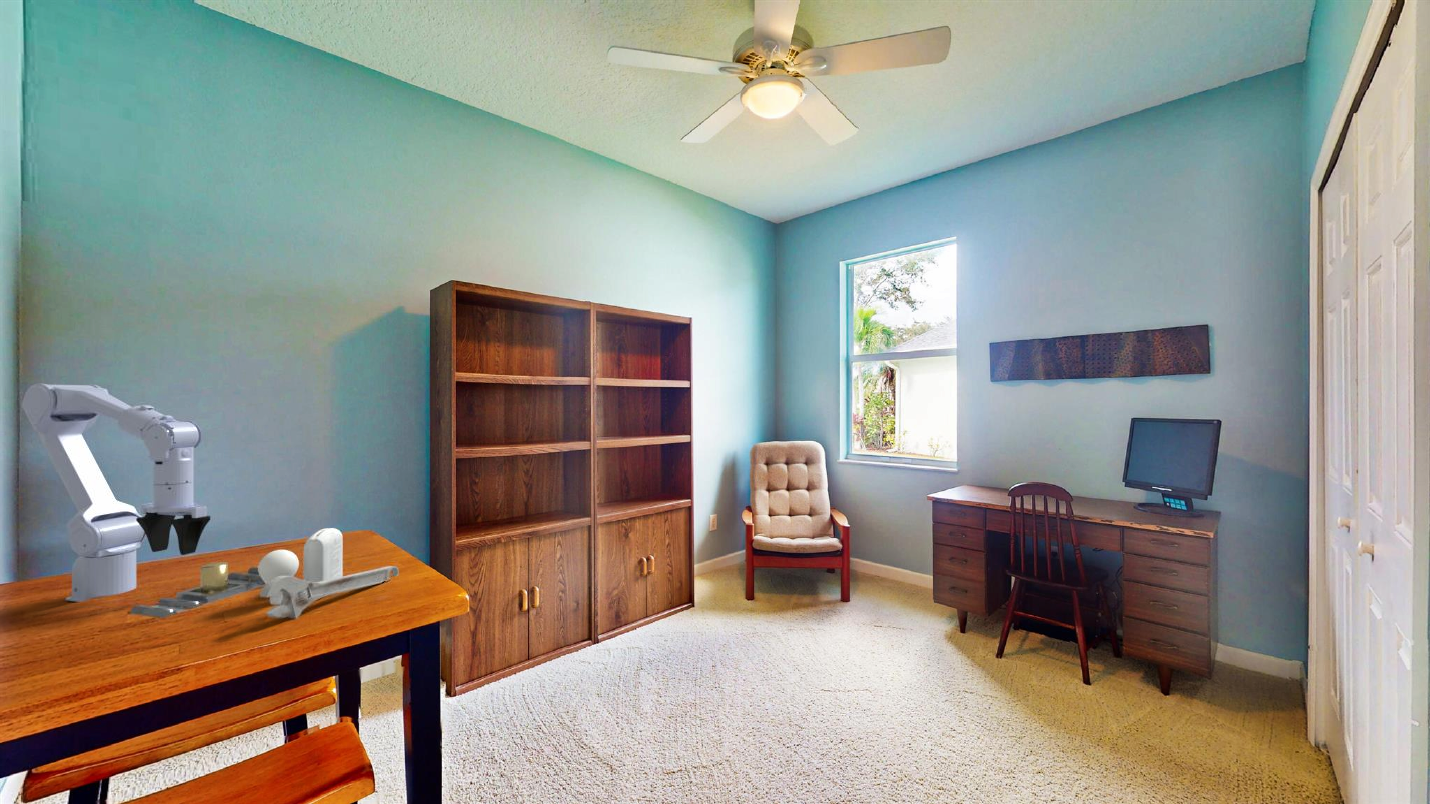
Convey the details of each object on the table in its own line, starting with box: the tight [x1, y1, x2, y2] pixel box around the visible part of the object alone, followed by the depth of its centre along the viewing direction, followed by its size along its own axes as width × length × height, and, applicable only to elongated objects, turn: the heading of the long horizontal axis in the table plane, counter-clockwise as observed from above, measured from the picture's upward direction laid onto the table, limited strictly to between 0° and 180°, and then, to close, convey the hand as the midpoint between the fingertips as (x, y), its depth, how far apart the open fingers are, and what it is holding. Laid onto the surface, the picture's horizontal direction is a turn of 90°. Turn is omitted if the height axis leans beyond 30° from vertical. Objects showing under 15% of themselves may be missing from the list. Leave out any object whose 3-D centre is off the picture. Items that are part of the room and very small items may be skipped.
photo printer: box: [302, 527, 344, 583], centre depth 118 cm, size 10×4×12 cm, turn 13°
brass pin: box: [200, 561, 229, 594], centre depth 111 cm, size 4×4×7 cm
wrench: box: [259, 565, 400, 619], centre depth 111 cm, size 8×2×30 cm
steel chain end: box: [130, 591, 247, 619], centre depth 107 cm, size 8×15×2 cm, turn 166°
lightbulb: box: [257, 549, 300, 606], centre depth 107 cm, size 6×6×11 cm
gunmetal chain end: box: [176, 566, 266, 604], centre depth 114 cm, size 8×15×3 cm, turn 166°
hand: (173, 552), depth 111 cm, fingers open, 7 cm apart
